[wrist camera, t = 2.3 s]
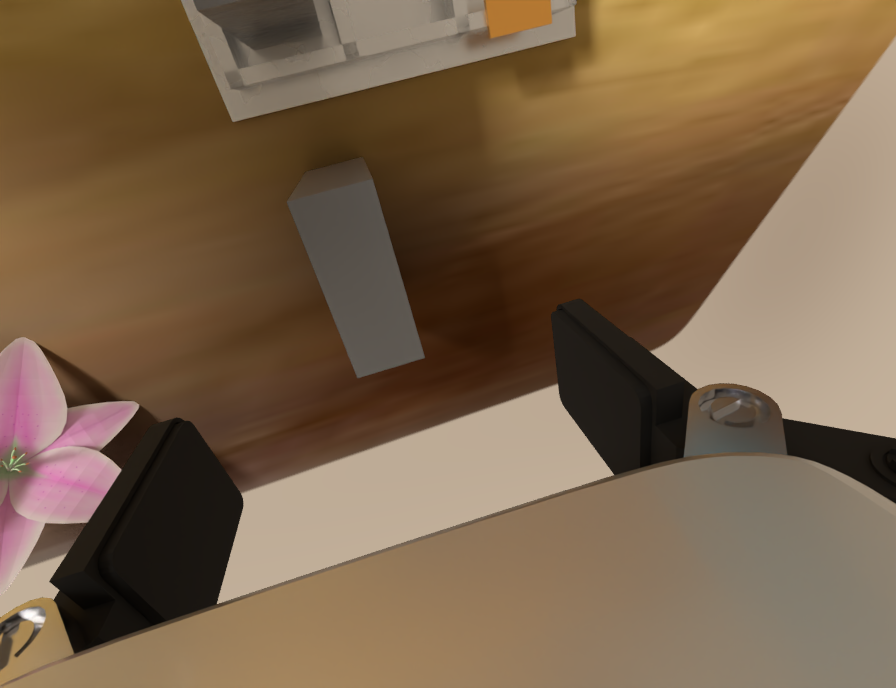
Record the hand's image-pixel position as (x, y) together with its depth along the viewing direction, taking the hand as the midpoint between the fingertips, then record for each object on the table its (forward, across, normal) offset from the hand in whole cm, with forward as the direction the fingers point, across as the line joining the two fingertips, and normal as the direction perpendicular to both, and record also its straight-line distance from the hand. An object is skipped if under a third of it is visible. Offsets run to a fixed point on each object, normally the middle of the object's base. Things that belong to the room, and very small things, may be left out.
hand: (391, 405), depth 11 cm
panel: (+17, 0, 0) cm, 17 cm away
